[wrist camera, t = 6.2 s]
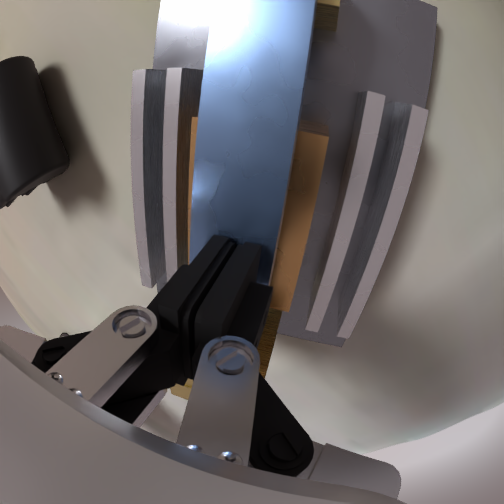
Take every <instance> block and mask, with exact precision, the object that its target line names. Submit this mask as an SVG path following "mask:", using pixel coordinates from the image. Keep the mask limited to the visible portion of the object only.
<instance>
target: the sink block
mask: <svg viewBox="0 0 504 504" xmlns="http://www.w3.org/2000/svg"><path fill="white" fill-rule="evenodd" d="M214 2H215V0H161V5H160V11H159V18H158V26H157V34H156V42H155V52H154V62H153V69H141V70H133V79H132V98H131V172H132V193H133V208H134V220H135V231H136V241H137V250H138V258H139V266H140V274H141V281H142V285H143V286H146V287H149V288H153V287H154V285H155V284H156V283H157V290H158V293H159V292H160V291H161V289H162V288H163V287H164V286H165V284H166V283H167V282H168V281H169V280H170V278H171V277H172V276H173V275H174V274H175V272H176V271H177V270H178V269H179V268H180V267H181V266H182V265H183V264H186V265H189V252H190V224H191V203H192V186H193V171H194V158H195V146H196V135H197V124H198V114H199V105H200V96H201V88H202V80H203V72H204V65H205V57H206V51H207V44H208V37H209V31H210V25H211V19H212V13H213V8H214ZM436 23H437V7H435V6H432V5H430V4H427V3H425V2H422V1H419V0H317V8H316V15H315V23H314V30H313V37H312V45H311V52H310V58H309V65H308V72H307V79H306V85H305V92H304V98H303V105H302V111H301V117H300V123H299V129H298V135H297V141H296V147H295V153H294V159H293V165H292V171H291V176H290V182H289V188H288V193H287V199H286V204H285V210H284V215H283V221H282V226H281V232H280V237H279V242H278V247H277V253H276V258H275V263H274V268H273V273H272V278H271V283H270V286H272V287H273V293H272V298H271V303H270V308H269V312H268V316H267V319H266V323H265V326H264V329H263V332H262V335H261V339H260V342H259V345H258V348H257V351H258V353H259V355H260V367H259V372H260V373H261V375H262V376H263V377H264V379H265V376H266V372H267V368H268V365H269V361H270V357H271V353H272V350H273V346H274V342H275V338H276V334H277V333H279V334H284V335H288V336H292V337H297V338H301V339H305V340H310V341H315V342H319V343H324V344H329V345H334V346H339V347H342V345H343V343H344V341H345V339H346V338H347V339H349V337H350V335H351V333H352V331H353V329H354V327H355V325H356V323H357V321H358V319H359V317H360V315H361V313H362V311H363V308H364V306H365V304H366V302H367V300H368V297H369V295H370V293H371V291H372V288H373V286H374V284H375V281H376V279H377V276H378V274H379V272H380V269H381V267H382V264H383V262H384V259H385V257H386V254H387V251H388V249H389V246H390V244H391V241H392V238H393V235H394V233H395V230H396V227H397V224H398V221H399V218H400V215H401V212H402V209H403V206H404V203H405V200H406V197H407V194H408V191H409V187H410V184H411V181H412V177H413V174H414V170H415V166H416V163H417V159H418V155H419V151H420V147H421V143H422V139H423V135H424V130H425V126H426V121H427V117H428V112H429V110H427V109H425V107H426V101H427V96H428V90H429V84H430V78H431V71H432V63H433V55H434V46H435V36H436ZM192 385H193V380H191V379H187V381H186V383H185V385H184V386H181V385H179V384H176V385H175V386H174V387H171V388H170V389H171V393H172V394H173V395H176V396H179V397H182V398H184V399H187V400H188V399H189V395H190V392H191V388H192Z"/></svg>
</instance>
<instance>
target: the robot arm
mask: <svg viewBox="0 0 504 504" xmlns="http://www.w3.org/2000/svg"><path fill="white" fill-rule="evenodd" d="M261 247H262V246H261V245H259V244H255V243H250V242H245V243H244V245H240V244H238V246H237V247H236V249H235V243H232V242H231V240H230V238H228V237H224V236H220V235H215V234H214V235H213V236H212V237H211V239H210V240H209V241H208V242H207V243H206V245H205V246H204V247H203V248H202V250H201V251H200V252H199V253H198V254H197V256H196V257H195V258H194V259H193V261H192V262H191V263H190V264H189V265H186V264H183V265H182V266H181V267H180V268H179V269H178V270H177V271H176V272H175V274H174V275H173V276H172V277H171V278H170V280H169V281H168V282H167V283H166V284H165V286H164V287H163V288H162V289H161V291H160V292H159V293H158V294H157V295H156V297H155V298H154V299H153V300H152V302H151V303H150V304H149V305H148V307H147V308H145V307H142V306H134V305H133V306H126V307H123V308H120V309H118V310H116V311H115V312H113V313H112V314H111V315H110V316H109V317H108V318H106V319H105V320H104V321H103V322H102V323H101V324H100V325H98V326H97V327H96V328H95V329H94V330H93V331H89V332H84V333H80V334H75V335H70V336H65V337H60V338H56V339H52V340H49V341H47V340H46V338H43V337H40V336H37V335H34V334H31V333H28V332H25V331H22V330H19V329H17V328H14V327H11V326H1V327H0V504H406V503H404V502H402V501H400V500H397V497H398V494H399V491H400V487H401V477H400V474H399V472H398V470H397V469H396V468H395V467H394V466H393V465H390V464H388V463H386V462H382V461H379V460H375V459H372V458H369V457H365V456H362V455H359V454H356V453H353V452H350V451H347V450H344V449H341V448H339V447H336V446H333V445H330V444H328V443H326V444H325V445H322V444H319V443H317V442H314V441H312V440H311V439H310V437H309V435H308V434H307V433H306V431H305V430H304V429H303V428H302V426H301V425H300V424H299V423H298V421H297V420H296V419H295V418H294V416H293V415H292V414H291V413H290V411H289V410H288V409H287V408H286V406H285V405H284V404H283V402H282V401H281V400H280V399H279V397H278V396H277V395H276V393H275V392H274V391H273V389H272V388H271V387H270V385H269V384H268V383H267V381H266V380H265V379H264V377H263V376H262V375H261V373H260V372H259V367H260V355H259V353H258V351H257V348H258V345H259V342H260V339H261V335H262V332H263V329H264V326H265V323H266V319H267V316H268V312H269V308H270V303H271V298H272V293H273V287H272V286H268V285H264V284H260V283H256V279H257V273H258V267H259V261H260V255H261ZM187 379H191V380H193V385H192V388H191V392H190V395H189V399H188V403H187V406H186V410H185V413H184V417H183V420H182V424H181V428H180V431H179V435H178V439H177V442H176V443H173V442H170V441H168V440H166V439H163V438H161V437H158V436H156V435H154V434H152V433H149V432H147V431H145V430H143V429H140V428H139V427H140V426H141V425H142V424H143V422H144V421H145V420H146V419H147V417H148V416H149V415H150V414H151V412H152V411H153V410H154V409H155V407H156V406H157V405H158V404H159V402H160V401H161V400H162V398H163V397H164V396H165V394H166V392H167V388H171V387H174V386H175V385H176V384H179V385H181V386H184V385H185V383H186V381H187Z"/></svg>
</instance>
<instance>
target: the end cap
mask: <svg viewBox="0 0 504 504" xmlns="http://www.w3.org/2000/svg"><path fill="white" fill-rule="evenodd" d="M68 166H69V158H68V155H67V153H66V151H65V148H64V146H63V143H62V141H61V138H60V136H59V133H58V131H57V128H56V126H55V123H54V120H53V118H52V115H51V112H50V109H49V106H48V103H47V100H46V97H45V94H44V91H43V88H42V85H41V82H40V79H39V75H38V72H37V69H36V68H35V64H34V61H33V60H32V59H31V58H29V57H25V56H16V57H11V58H8V59H5V60H3V61H1V62H0V209H1V208H3V207H5V206H7V207H9V206H10V205H11V203H12V202H13V201H14V200H15V199H16V198H17V197H18V196H20V195H22V196H23V195H29V194H30V193H31V192H32V191H33V190H34V189H35V188H36V187H37V186H38V185H40V184H43V183H45V182H47V181H49V180H50V179H51V178H53V177H55V176H57V175H60V174H62V173H63V172H64V171H65V170H66V169H67V168H68Z"/></svg>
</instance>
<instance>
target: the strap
mask: <svg viewBox="0 0 504 504" xmlns="http://www.w3.org/2000/svg"><path fill="white" fill-rule="evenodd" d="M316 8H317V0H215V2H214V8H213V13H212V19H211V25H210V31H209V37H208V44H207V51H206V57H205V65H204V72H203V80H202V88H201V96H200V105H199V114H198V124H197V135H196V146H195V158H194V171H193V186H192V203H191V224H190V252H189V264H190V263H191V262H192V261H193V259H194V258H195V257H196V256H197V254H198V253H199V252H200V251H201V250H202V248H203V247H204V246H205V245H206V243H207V242H208V241H209V240H210V239H211V237H212V236H213V235H214V234H215V235H220V236H224V237H228V238H230V240H231V242H232V243H235V249H236V247H237V246H238V244H240V245H244V243H245V242H250V243H255V244H259V245H261V246H262V247H261V255H260V261H259V267H258V273H257V279H256V283H260V284H264V285H268V286H270V283H271V278H272V273H273V268H274V263H275V258H276V253H277V247H278V242H279V237H280V232H281V226H282V221H283V215H284V210H285V204H286V199H287V193H288V188H289V182H290V176H291V171H292V165H293V159H294V153H295V147H296V141H297V135H298V129H299V123H300V117H301V111H302V105H303V98H304V92H305V85H306V79H307V72H308V65H309V58H310V52H311V45H312V37H313V30H314V23H315V15H316Z"/></svg>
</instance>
